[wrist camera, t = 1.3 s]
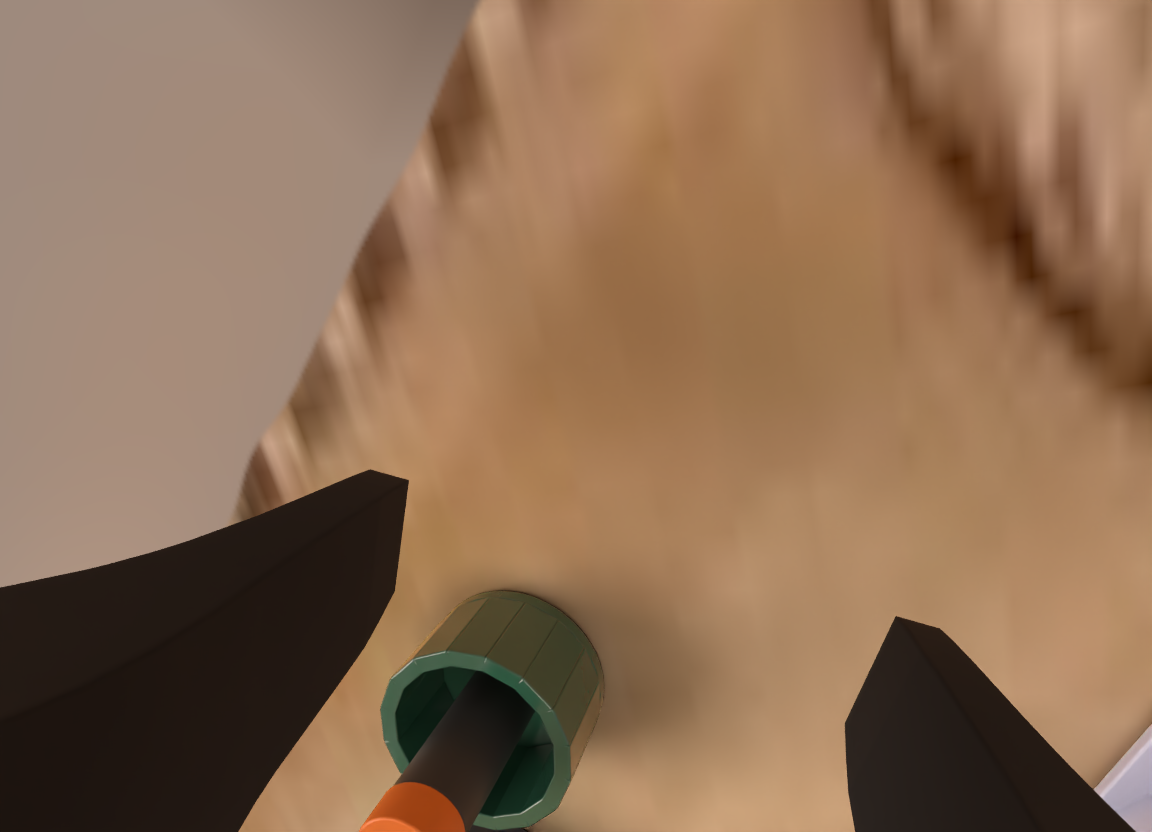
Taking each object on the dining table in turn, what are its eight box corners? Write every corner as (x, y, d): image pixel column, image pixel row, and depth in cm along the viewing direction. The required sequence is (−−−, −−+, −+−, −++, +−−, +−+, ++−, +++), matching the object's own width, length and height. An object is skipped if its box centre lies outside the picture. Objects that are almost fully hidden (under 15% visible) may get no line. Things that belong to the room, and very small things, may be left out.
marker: (556, 670, 23) (455, 853, 17) (532, 723, 24) (427, 916, 18) (491, 635, 24) (369, 801, 17) (469, 689, 25) (345, 865, 18)
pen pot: (632, 646, 23) (601, 720, 20) (567, 777, 25) (529, 864, 22) (466, 559, 24) (410, 616, 21) (417, 692, 26) (360, 763, 23)
